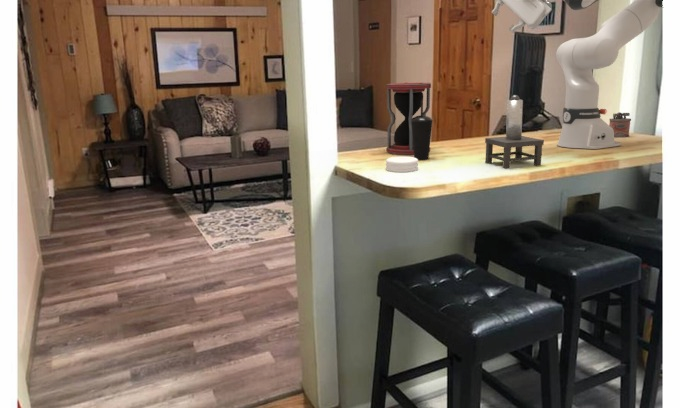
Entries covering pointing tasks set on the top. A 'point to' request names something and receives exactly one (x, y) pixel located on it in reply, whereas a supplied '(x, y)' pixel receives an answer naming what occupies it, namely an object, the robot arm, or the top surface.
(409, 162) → the coaster
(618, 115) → the lighter
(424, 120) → the drinking cup
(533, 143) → the stool
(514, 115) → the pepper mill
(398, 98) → the hourglass
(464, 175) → the top surface
